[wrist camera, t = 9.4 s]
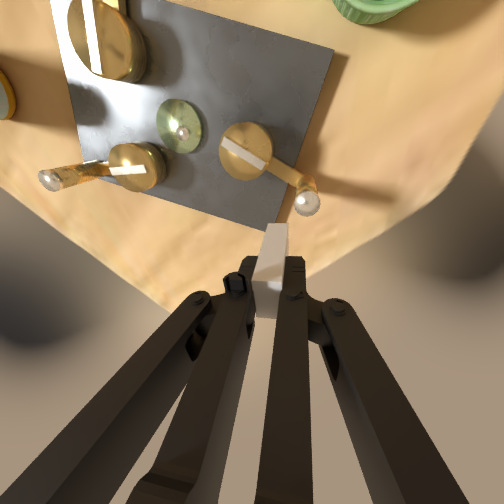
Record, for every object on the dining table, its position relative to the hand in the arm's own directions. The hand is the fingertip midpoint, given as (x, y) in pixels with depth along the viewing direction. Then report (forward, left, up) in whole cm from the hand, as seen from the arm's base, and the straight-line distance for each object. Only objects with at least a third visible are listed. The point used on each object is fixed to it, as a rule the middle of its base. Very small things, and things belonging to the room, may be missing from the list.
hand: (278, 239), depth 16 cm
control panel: (-13, +4, -11) cm, 18 cm away
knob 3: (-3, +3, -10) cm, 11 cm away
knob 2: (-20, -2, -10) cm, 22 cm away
